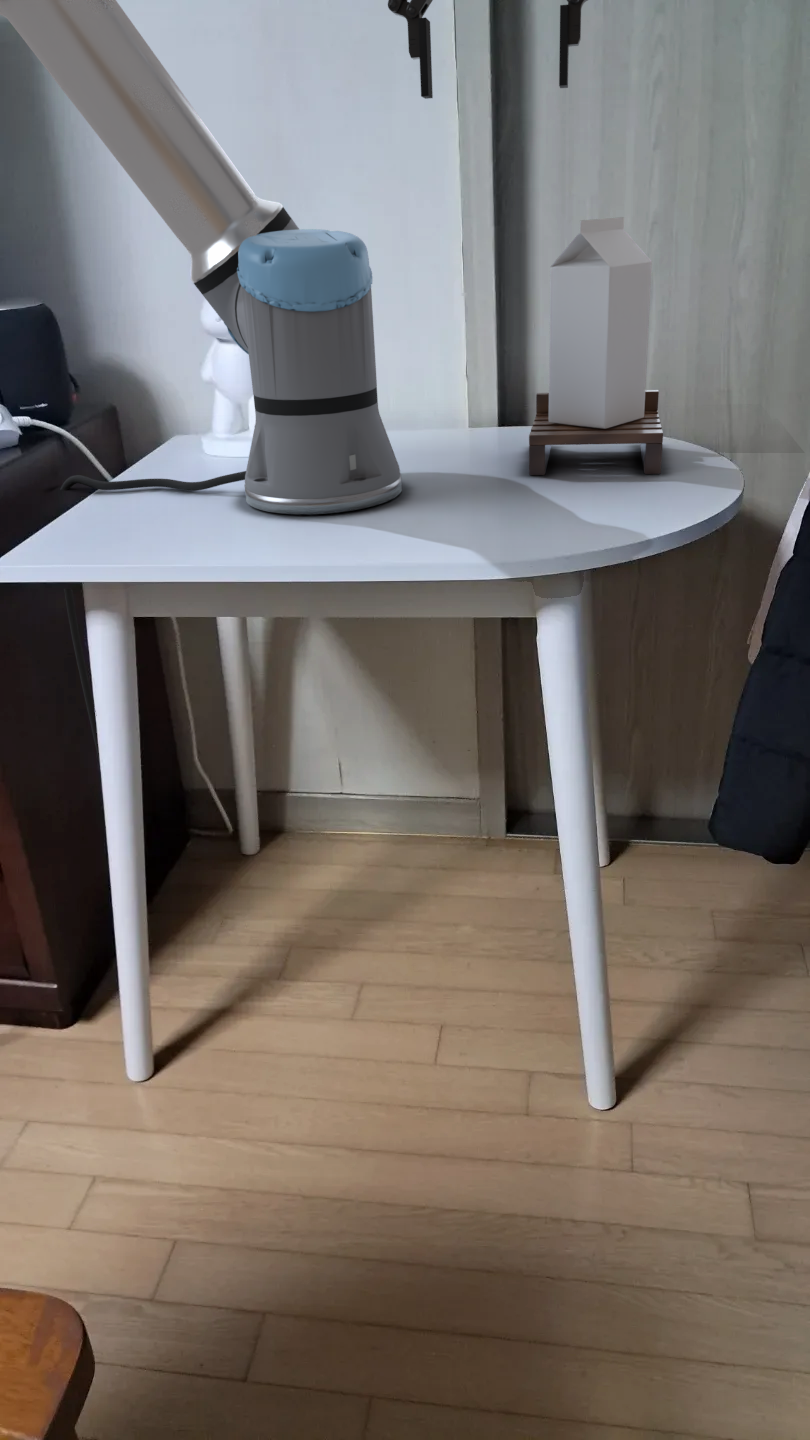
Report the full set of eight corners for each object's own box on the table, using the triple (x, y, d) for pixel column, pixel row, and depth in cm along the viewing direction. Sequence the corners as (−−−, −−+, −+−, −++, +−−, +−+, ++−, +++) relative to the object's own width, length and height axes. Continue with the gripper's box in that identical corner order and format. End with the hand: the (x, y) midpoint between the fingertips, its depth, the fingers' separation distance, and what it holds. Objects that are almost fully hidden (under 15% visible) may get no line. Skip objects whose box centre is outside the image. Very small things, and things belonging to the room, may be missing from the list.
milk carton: (644, 419, 107) (654, 215, 99) (604, 430, 102) (612, 218, 94) (588, 413, 112) (593, 218, 103) (547, 424, 107) (549, 221, 99)
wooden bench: (528, 475, 104) (529, 414, 102) (536, 448, 116) (536, 392, 113) (660, 474, 102) (664, 411, 99) (655, 446, 113) (658, 389, 111)
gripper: (347, -179, 92) (364, 98, 101) (633, -215, 87) (623, 78, 97) (365, -153, 98) (379, 104, 108) (631, -186, 94) (622, 85, 103)
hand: (494, 92), depth 102 cm, fingers open, 13 cm apart
